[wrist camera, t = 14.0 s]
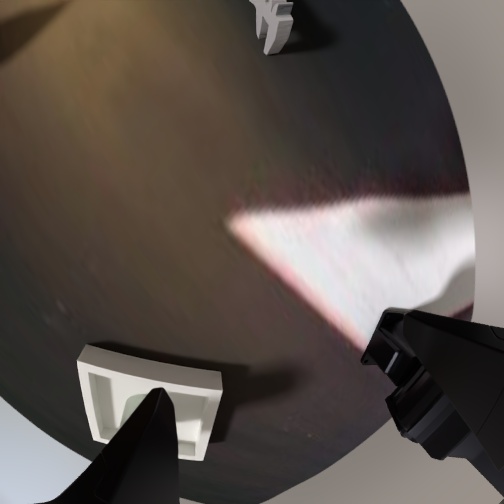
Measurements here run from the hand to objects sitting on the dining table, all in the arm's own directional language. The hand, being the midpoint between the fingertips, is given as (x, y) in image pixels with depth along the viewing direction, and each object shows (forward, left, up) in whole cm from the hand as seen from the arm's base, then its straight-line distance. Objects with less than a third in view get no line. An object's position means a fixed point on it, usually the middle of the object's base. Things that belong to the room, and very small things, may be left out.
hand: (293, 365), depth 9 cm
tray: (+6, +18, -13) cm, 23 cm away
